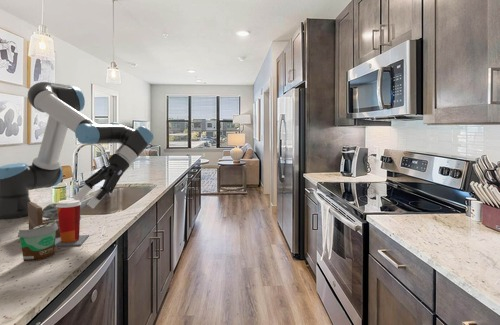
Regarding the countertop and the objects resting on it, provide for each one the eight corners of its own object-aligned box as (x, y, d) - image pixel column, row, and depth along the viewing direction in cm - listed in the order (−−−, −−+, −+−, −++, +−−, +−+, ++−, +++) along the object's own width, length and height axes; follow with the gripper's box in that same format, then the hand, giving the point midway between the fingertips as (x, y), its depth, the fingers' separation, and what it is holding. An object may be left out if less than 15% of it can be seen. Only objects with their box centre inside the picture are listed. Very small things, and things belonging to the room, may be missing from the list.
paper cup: (74, 235, 119) (72, 198, 118) (87, 239, 115) (85, 200, 114) (52, 241, 112) (50, 201, 111) (65, 245, 108) (63, 204, 107)
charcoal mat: (59, 238, 118) (59, 236, 117) (88, 236, 120) (88, 234, 120) (48, 247, 108) (48, 245, 108) (80, 245, 110) (80, 244, 110)
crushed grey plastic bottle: (37, 219, 141) (54, 231, 124) (38, 203, 141) (55, 212, 124) (70, 217, 151) (90, 227, 133) (70, 201, 150) (91, 210, 133)
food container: (37, 265, 94) (35, 231, 93) (19, 263, 95) (17, 230, 94) (68, 250, 106) (66, 220, 105) (51, 248, 107) (50, 219, 106)
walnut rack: (59, 227, 130) (58, 198, 129) (71, 235, 121) (69, 203, 120) (28, 233, 122) (27, 202, 121) (38, 241, 113) (37, 208, 112)
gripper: (144, 168, 118) (104, 215, 109) (115, 163, 135) (78, 203, 126) (130, 154, 114) (87, 202, 105) (101, 151, 131) (62, 191, 122)
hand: (82, 203), depth 115 cm, fingers open, 13 cm apart
